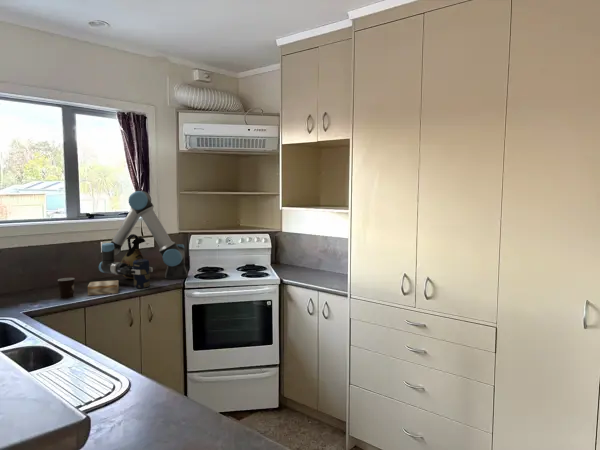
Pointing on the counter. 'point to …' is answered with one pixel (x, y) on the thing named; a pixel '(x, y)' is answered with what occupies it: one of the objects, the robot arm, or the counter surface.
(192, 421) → the counter surface
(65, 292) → the coffee mug
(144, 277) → the canister
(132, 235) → the ceramic jug
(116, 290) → the dock
